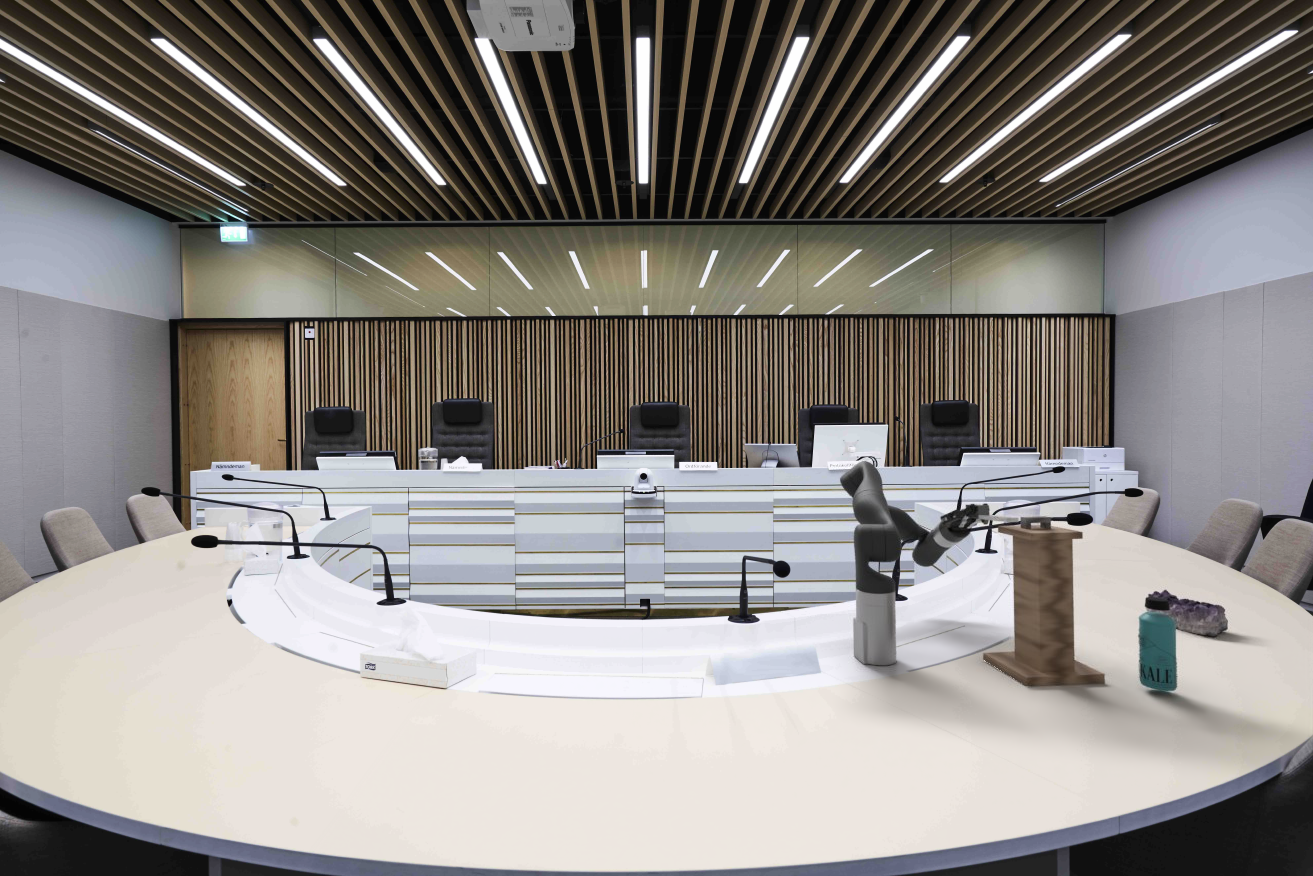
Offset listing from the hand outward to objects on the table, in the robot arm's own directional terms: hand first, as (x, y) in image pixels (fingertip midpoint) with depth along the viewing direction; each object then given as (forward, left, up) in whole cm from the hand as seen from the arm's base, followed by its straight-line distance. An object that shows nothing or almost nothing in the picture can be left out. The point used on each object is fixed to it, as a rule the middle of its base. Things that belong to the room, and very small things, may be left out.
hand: (980, 506), depth 169 cm
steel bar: (0, -6, -3) cm, 6 cm away
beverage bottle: (+16, -37, -36) cm, 54 cm away
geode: (+62, +4, -36) cm, 72 cm away
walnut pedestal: (0, -23, -36) cm, 42 cm away
